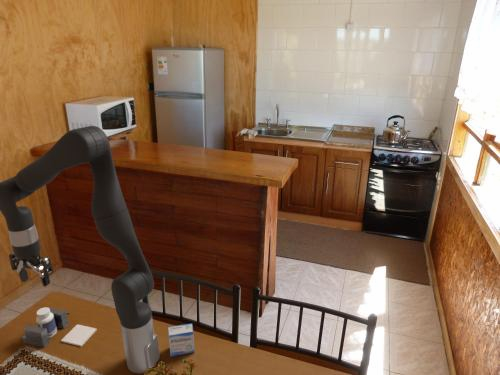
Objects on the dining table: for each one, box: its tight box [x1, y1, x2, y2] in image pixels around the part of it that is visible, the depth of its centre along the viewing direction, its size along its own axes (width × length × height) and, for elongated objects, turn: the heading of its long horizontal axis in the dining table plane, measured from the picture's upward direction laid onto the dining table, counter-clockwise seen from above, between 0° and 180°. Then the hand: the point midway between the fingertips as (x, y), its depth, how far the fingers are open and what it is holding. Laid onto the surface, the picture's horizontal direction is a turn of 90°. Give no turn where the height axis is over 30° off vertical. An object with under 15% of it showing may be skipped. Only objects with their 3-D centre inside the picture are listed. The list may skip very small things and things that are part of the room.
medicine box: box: [167, 323, 196, 357], centre depth 122 cm, size 8×4×9 cm, turn 104°
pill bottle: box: [35, 306, 58, 339], centre depth 129 cm, size 5×5×10 cm
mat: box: [60, 324, 98, 347], centre depth 129 cm, size 8×8×1 cm
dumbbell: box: [21, 306, 70, 349], centre depth 131 cm, size 9×14×6 cm, turn 164°
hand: (35, 282), depth 123 cm, fingers open, 8 cm apart
